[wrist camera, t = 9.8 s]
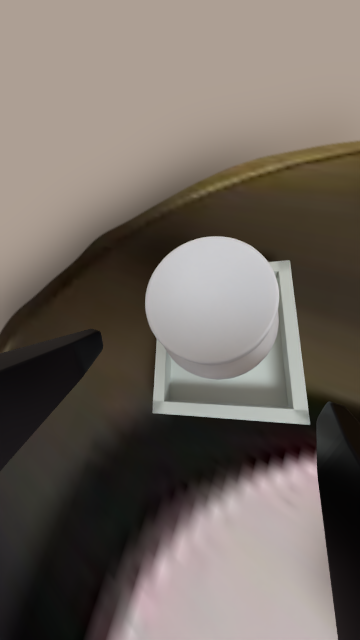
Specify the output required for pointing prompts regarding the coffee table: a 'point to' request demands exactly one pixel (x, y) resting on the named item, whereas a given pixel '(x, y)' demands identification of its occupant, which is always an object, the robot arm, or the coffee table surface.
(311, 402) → the coffee table surface
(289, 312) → the tray
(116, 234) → the coffee table surface
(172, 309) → the pill bottle
